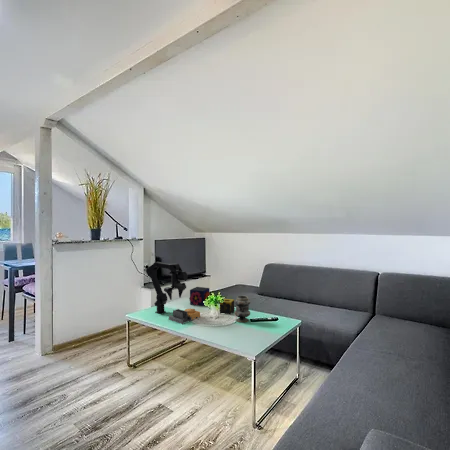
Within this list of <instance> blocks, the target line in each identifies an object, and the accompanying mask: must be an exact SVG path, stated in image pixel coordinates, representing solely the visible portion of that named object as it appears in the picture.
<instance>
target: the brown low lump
mask: <svg viewBox="0 0 450 450" xmlns="http://www.w3.org/2000/svg"><path fill="white" fill-rule="evenodd" d="M184 311H187V316H190V317H192V320H195V319H197V318H196V317H198V318H200V317H201V312H200V311H199V310H196V309H195V308H191V307H190V308H186V309H184ZM199 316H200V317H199ZM194 318H195V319H194Z"/></svg>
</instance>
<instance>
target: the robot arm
mask: <svg viewBox="0 0 450 450" xmlns="http://www.w3.org/2000/svg"><path fill="white" fill-rule="evenodd" d="M159 268H162V269H167V270H168V271H170V272H169V273H168V274H171V280H170V282H171V285H170V286H167V287H164V288H163V289H162V287H161V283H160V282H159V281H160V280H159V279H158V276H157V275H158V271H157V270H158V269H159ZM145 273H146V275H147V276H148V277H149V278H150V279H151V282H152V285H153V287H154V290H155V292H156V293H155V294H156V297H155V298H156V301H155V302H154V307H156V311H154V312H155V313H156V314H164V313H166V310H165V305H166V304H167V301H168V298H169V300H170V301H171V300H172V299H173V295H172V294H173V290H178V297H179V299H180V298H182V294H183V292H184V291H185V290H186V289H187V285H186V283H185V282H181V281H187V280H188V277H189V276H188V273H187V271H183V270H182V267H181V266H180V264H179V263H167V262H166V263H165V262H160V261H154V263H152V264H151V265H150V266H148V267H146V270H145Z"/></svg>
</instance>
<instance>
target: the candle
mask: <svg viewBox="0 0 450 450" xmlns="http://www.w3.org/2000/svg"><path fill="white" fill-rule="evenodd" d="M223 299H224V302H223V303H220V302H219V314H221V313H225V314H224V315H232V314H233V313H234V312H235V310H236V307H235V299H232V298H223Z"/></svg>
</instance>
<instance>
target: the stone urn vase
mask: <svg viewBox="0 0 450 450" xmlns="http://www.w3.org/2000/svg"><path fill="white" fill-rule="evenodd" d="M250 304H251V300H250V299H249V296H247V295H237V296H236V299H234V305H235V309H234V310H235V311H234V312H233V313H234V315H235V316H236V317H238V318H236V319H235V321H236V322H237V323H248V322H249V321H250V319H249V318H248V317H249V316H250V315H251V311H250V309H249V307H250V306H249V305H250Z"/></svg>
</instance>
